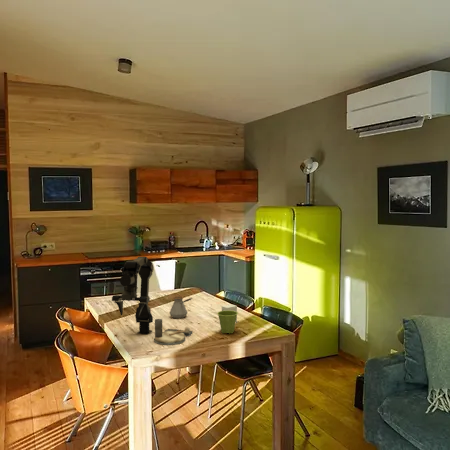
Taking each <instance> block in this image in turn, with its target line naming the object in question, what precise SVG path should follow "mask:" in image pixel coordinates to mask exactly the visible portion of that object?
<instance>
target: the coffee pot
mask: <svg viewBox="0 0 450 450" xmlns="http://www.w3.org/2000/svg"><path fill="white" fill-rule="evenodd" d="M183 299H184V297H183V296H173V300H174V301H173V303H172V306H171V308H170V311H169V316H170V317H171V318H173V319H183V318H185V317H186V316H187V314H188V310H187V309H186V306H185V303H186V302H189V301H190V302H192V300H193V298H192V297H190V298H187V299H185V300H183Z"/></svg>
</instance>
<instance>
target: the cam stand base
mask: <svg viewBox="0 0 450 450" xmlns="http://www.w3.org/2000/svg"><path fill="white" fill-rule="evenodd" d="M182 330H183V329H178V328H177V329H176V328H167V329H166V330H164V331H163V332H166V331H177V332H178V331H182ZM182 333H184V335H185V338H184V339H183V340H182V341H179V342H173V343H163V342H158V341H156V340H155V337H154V338H153V342H154V343H155V344H157V345H162V346H173V345H174V346H175V345H180V344H182V343H185V341H186V337H190V336H192V335H193V330H190V331H189V332H182ZM191 334H192V335H191Z"/></svg>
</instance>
